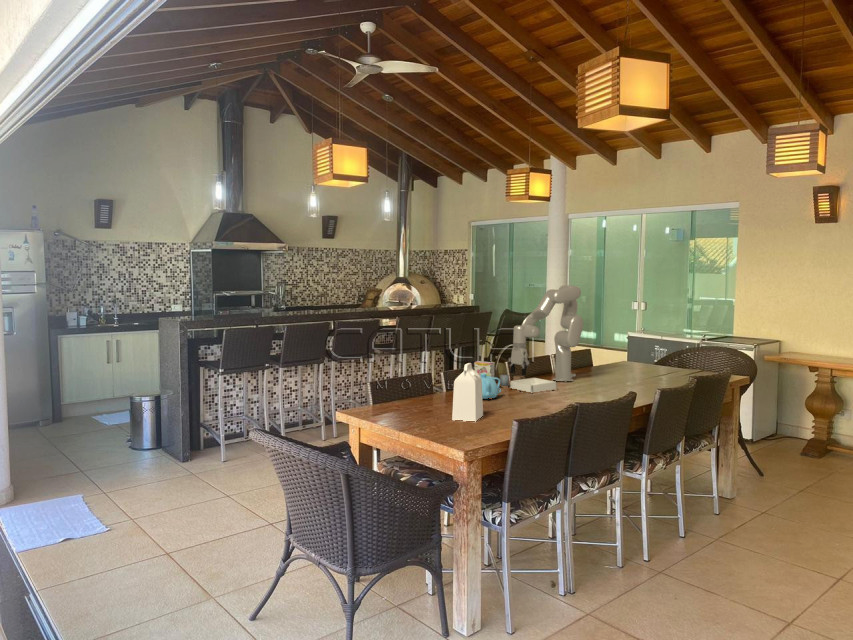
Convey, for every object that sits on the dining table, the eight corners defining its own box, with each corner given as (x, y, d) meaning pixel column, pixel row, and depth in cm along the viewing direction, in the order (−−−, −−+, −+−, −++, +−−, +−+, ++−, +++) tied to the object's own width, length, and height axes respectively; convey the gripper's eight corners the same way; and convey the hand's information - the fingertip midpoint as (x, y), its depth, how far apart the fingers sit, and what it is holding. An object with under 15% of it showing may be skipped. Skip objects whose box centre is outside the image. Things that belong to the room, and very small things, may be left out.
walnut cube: (519, 383, 398) (519, 375, 397) (525, 384, 394) (525, 376, 393) (513, 384, 395) (513, 376, 394) (519, 385, 391) (519, 377, 390)
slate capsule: (504, 385, 389) (504, 374, 389) (510, 387, 385) (510, 375, 385) (498, 386, 386) (498, 375, 386) (504, 388, 382) (504, 376, 382)
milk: (460, 414, 313) (460, 361, 311) (483, 416, 309) (483, 362, 307) (452, 420, 302) (452, 365, 300) (475, 422, 298) (475, 366, 296)
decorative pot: (486, 402, 341) (486, 377, 340) (462, 398, 352) (462, 373, 351) (503, 398, 354) (504, 373, 352) (480, 394, 364) (480, 370, 363)
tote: (534, 385, 389) (534, 377, 389) (556, 390, 375) (556, 381, 374) (509, 389, 378) (510, 381, 377) (531, 394, 363) (532, 385, 363)
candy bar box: (473, 389, 377) (473, 361, 376) (477, 388, 382) (477, 360, 380) (490, 391, 372) (491, 363, 370) (494, 390, 376) (494, 362, 374)
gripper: (533, 347, 387) (532, 375, 389) (514, 344, 401) (513, 371, 403) (524, 347, 383) (523, 376, 384) (505, 344, 397) (504, 372, 398)
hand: (518, 373), depth 393 cm, fingers open, 9 cm apart
